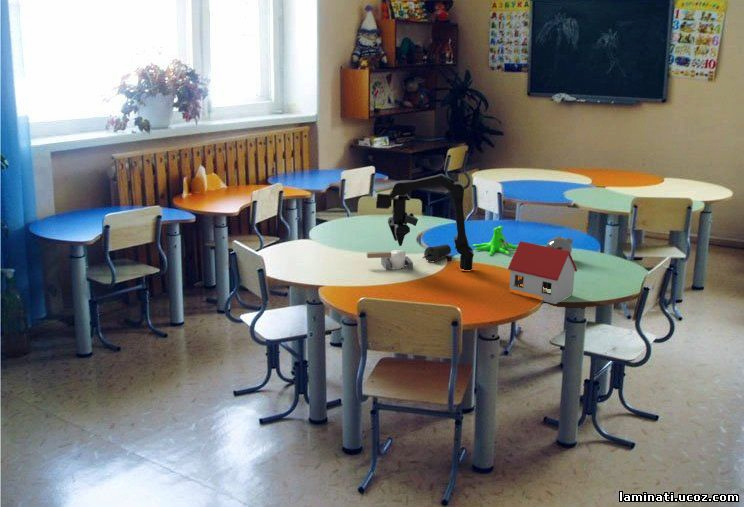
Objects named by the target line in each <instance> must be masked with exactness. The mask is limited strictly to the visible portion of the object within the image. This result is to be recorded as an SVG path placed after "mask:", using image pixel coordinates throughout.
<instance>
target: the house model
mask: <svg viewBox="0 0 744 507" xmlns="http://www.w3.org/2000/svg"><path fill="white" fill-rule="evenodd" d="M517 246H518V247H517V249H515V252H514V254H513V256H512V258H511V260H510V263H509V266H508V268H507V270H508V271H510V275H509V287H508V288H509V289H512V290H517V291H521V292H524V293H529V294H533V295H537V296H540V297H542V298H543V300H544V301H543V302H545V303H548V304H549V303H550V304H553V305H556V304H559V303H560V301H561V300H563V299H564V298H566V297H568V296H570V295H572V294H573V295H574V285H575V283H574V282H575V273H576V272H578V269H577V265H576V264H575V261H574V259H573V257H572V253H571V254H570V252H569V251H565V250H562V248H563V247H558V249H556V248H551V247H546V246H547V245H546V246H545V245H541V244H537V243H535V244H534V243H532V242H527V241H521V240H519V242H518V245H517ZM520 284H523V287H522V286H520ZM518 285H519V286H518ZM543 287H544V288H547V289H551V293H547V292H543ZM509 289H508V290H509ZM573 295H572V296H573ZM570 297H571V296H570ZM563 301H564V300H563ZM558 302H559V303H558ZM561 302H562V301H561Z"/></svg>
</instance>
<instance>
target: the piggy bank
mask: <svg viewBox="0 0 744 507" xmlns="http://www.w3.org/2000/svg"><path fill="white" fill-rule="evenodd" d="M573 243H574V240H573V238H572V237H568V238H565V237H562V236H561V235H557V236H556V237H554V238H551V239H550V240H549V241H548V242H547V244H546V247H551V248H556V249H558V247H563V248H562V250H565V251H569V252H570V254H571V255H572V252H573V247H572V244H573Z"/></svg>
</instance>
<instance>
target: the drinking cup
mask: <svg viewBox="0 0 744 507" xmlns="http://www.w3.org/2000/svg"><path fill="white" fill-rule="evenodd" d="M451 252H452V248H451V246H450V245H449V244H441V245H436V246H427V247H426V248H425V250H424V252H423V255H424V256H422V259H424V260H426V261H427V260H428V261H427V262H430V261H434V262H433V263H436V262H437V261H439V260H440V259H442V258H444V257H447V256H448V255H449V254H451Z"/></svg>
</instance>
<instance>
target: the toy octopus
mask: <svg viewBox="0 0 744 507" xmlns="http://www.w3.org/2000/svg"><path fill="white" fill-rule="evenodd" d="M503 229H504V227H503V225H499V226H498V227H497V226H496V227H494V228H493V236H492V238H491V240H490V241H489V242H482V243H478V244H476V243H474V244H472V245H471V246H472V247H475V248H474V250H475V251H487V252H488V253H489V254H488V256H489V257H490V256H491V257H492V256H493V255H494V254H495V253H496V252H498V253H502V254H506V255H509V254H510V251H508V250H510V249H511V250H516V249H517V247H518V245H514V244H512V243H511V242H507V241H506V236H504V235H503V232H502V231H503Z"/></svg>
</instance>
